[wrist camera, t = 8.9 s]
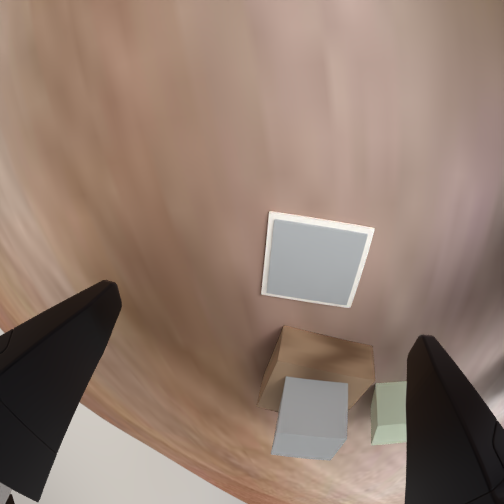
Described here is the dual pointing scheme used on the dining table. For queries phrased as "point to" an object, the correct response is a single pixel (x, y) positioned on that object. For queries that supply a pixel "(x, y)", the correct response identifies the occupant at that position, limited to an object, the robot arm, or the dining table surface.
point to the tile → (314, 259)
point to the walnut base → (316, 365)
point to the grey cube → (311, 419)
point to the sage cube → (388, 413)
